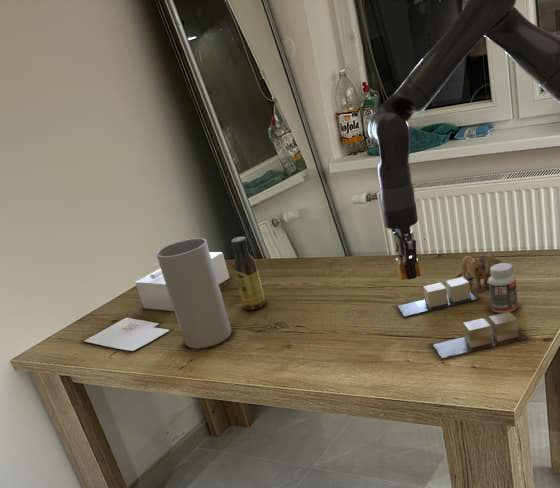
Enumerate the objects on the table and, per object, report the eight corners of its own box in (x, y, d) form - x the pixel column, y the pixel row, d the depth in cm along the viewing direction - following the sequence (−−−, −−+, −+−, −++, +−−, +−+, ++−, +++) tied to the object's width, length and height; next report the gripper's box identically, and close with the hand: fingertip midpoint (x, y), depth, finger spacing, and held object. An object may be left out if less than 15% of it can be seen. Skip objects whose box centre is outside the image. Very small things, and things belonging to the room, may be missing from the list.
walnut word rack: (513, 326, 144) (512, 308, 143) (526, 339, 138) (525, 320, 136) (432, 345, 145) (430, 327, 143) (442, 359, 139) (439, 340, 137)
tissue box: (229, 277, 217) (220, 245, 212) (175, 311, 201) (164, 276, 196) (198, 276, 226) (188, 245, 221) (143, 308, 210) (132, 275, 205)
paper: (80, 343, 195) (78, 340, 195) (124, 317, 206) (123, 314, 205) (135, 352, 179) (134, 349, 179) (180, 324, 190) (179, 321, 190)
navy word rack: (467, 290, 166) (466, 273, 165) (477, 300, 160) (475, 283, 158) (397, 306, 167) (395, 290, 165) (404, 317, 161) (401, 300, 159)
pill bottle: (517, 313, 150) (513, 270, 145) (490, 314, 152) (486, 273, 148) (518, 302, 154) (515, 261, 150) (492, 303, 157) (488, 263, 152)
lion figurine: (506, 287, 163) (503, 252, 159) (488, 295, 161) (485, 259, 157) (465, 275, 175) (461, 242, 171) (448, 282, 173) (444, 249, 169)
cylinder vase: (229, 323, 183) (204, 234, 171) (234, 341, 171) (207, 247, 160) (184, 336, 182) (156, 247, 171) (186, 354, 171) (156, 261, 160)
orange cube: (415, 270, 162) (413, 254, 160) (420, 275, 158) (418, 259, 156) (397, 274, 162) (395, 258, 160) (402, 280, 158) (399, 264, 156)
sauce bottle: (241, 306, 192) (223, 239, 183) (262, 299, 193) (245, 232, 184) (248, 313, 186) (229, 244, 177) (269, 306, 187) (251, 237, 178)
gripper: (423, 207, 146) (432, 281, 154) (407, 193, 159) (417, 262, 166) (389, 215, 146) (400, 288, 154) (376, 201, 159) (387, 269, 167)
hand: (409, 274), depth 160 cm, fingers closed on orange cube, 4 cm apart
